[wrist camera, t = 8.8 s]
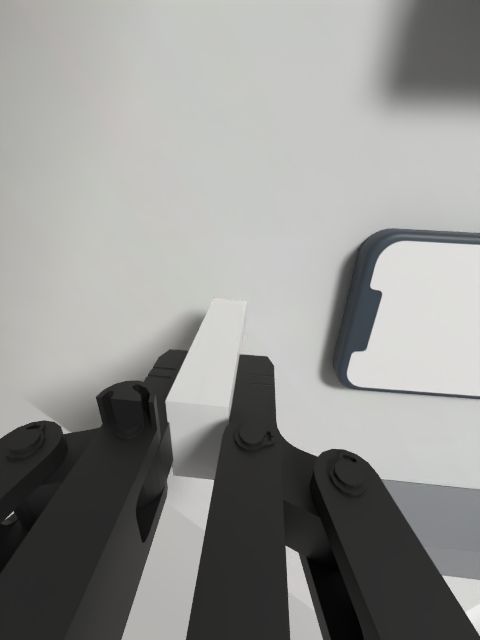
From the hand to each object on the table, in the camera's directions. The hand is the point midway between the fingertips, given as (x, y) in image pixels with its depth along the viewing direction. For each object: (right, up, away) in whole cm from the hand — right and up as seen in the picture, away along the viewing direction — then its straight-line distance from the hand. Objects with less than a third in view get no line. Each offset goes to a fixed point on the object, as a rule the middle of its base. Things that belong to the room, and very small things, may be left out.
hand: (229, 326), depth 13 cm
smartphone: (+14, 0, +2) cm, 14 cm away
